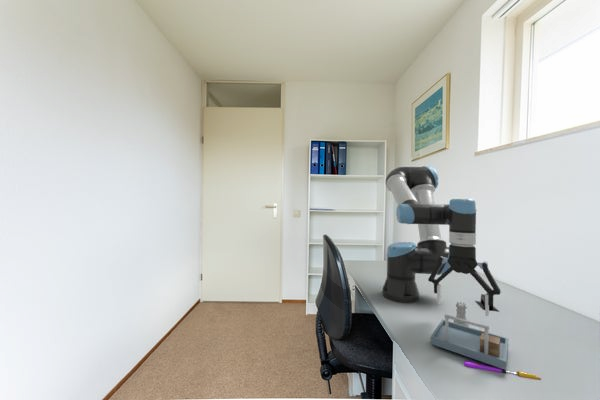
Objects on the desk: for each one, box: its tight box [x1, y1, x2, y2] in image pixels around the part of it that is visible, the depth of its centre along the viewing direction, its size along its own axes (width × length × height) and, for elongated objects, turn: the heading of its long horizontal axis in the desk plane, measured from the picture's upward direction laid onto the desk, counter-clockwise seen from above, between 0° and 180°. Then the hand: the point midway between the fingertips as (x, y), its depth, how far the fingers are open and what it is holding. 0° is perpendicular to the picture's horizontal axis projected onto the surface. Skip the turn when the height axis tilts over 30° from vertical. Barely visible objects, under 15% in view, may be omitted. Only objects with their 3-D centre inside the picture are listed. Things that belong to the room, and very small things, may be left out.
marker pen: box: [463, 360, 542, 380], centre depth 64 cm, size 3×1×16 cm
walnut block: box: [480, 333, 500, 358], centre depth 68 cm, size 4×4×4 cm
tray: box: [430, 313, 509, 371], centre depth 73 cm, size 14×17×10 cm
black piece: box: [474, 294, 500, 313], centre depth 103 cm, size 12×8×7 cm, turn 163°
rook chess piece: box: [453, 301, 469, 327], centre depth 85 cm, size 4×4×8 cm
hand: (461, 308), depth 85 cm, fingers open, 13 cm apart
